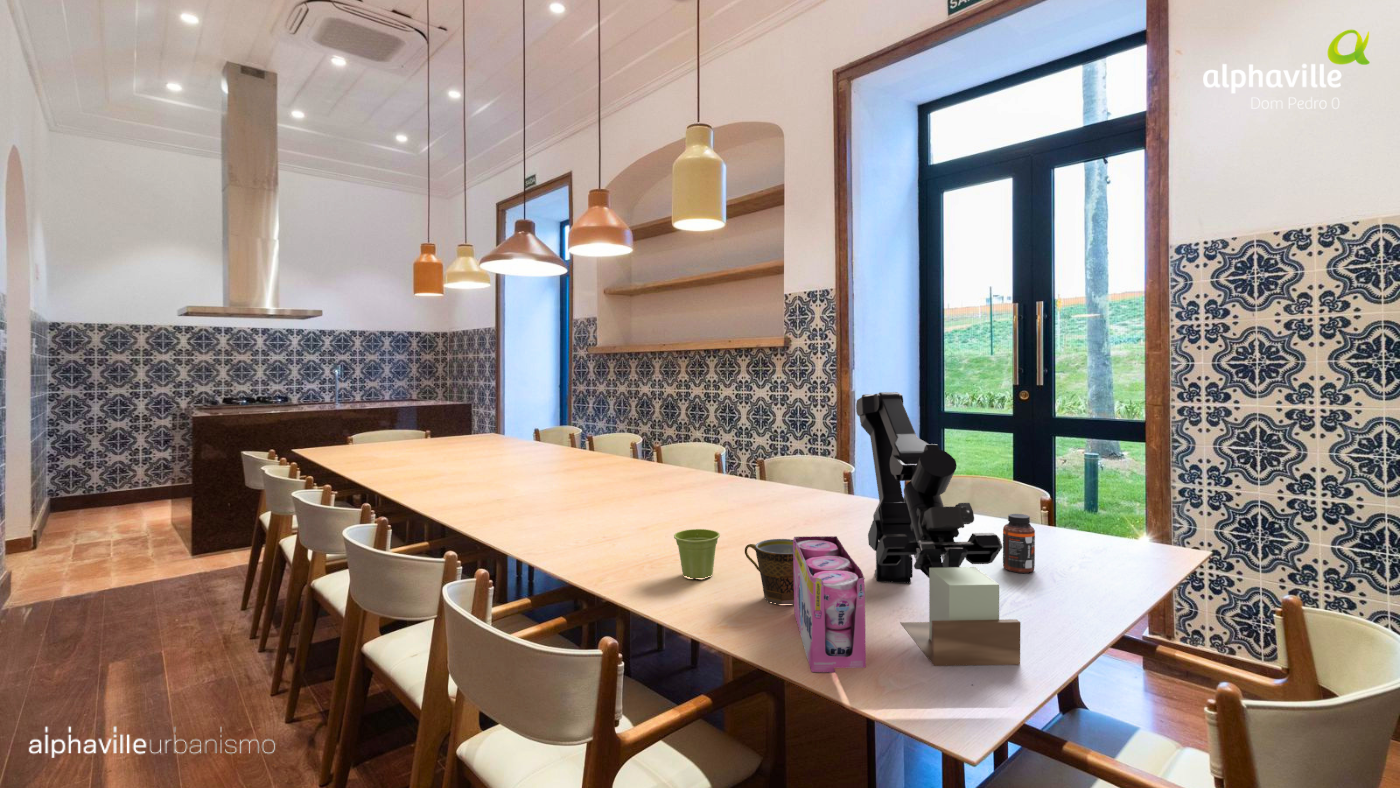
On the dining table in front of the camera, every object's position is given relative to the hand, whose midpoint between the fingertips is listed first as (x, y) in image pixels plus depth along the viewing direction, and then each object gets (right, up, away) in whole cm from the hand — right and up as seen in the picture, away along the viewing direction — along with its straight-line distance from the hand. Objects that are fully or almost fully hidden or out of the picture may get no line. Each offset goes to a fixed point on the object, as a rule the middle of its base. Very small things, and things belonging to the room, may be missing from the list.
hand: (951, 599), depth 99 cm
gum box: (-19, -7, +2) cm, 20 cm away
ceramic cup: (-25, -7, +21) cm, 33 cm away
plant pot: (-39, -6, +34) cm, 52 cm away
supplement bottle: (+28, -5, +35) cm, 45 cm away
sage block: (0, -6, -4) cm, 7 cm away
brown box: (0, -7, -1) cm, 7 cm away
